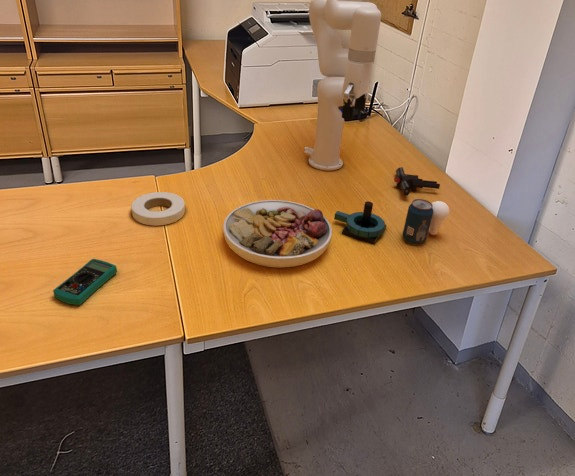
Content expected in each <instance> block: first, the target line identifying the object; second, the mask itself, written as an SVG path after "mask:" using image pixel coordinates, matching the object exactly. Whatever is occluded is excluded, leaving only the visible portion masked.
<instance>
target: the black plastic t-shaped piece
mask: <svg viewBox="0 0 575 476" xmlns="http://www.w3.org/2000/svg"><path fill="white" fill-rule="evenodd" d="M395 174H396V177H394V179H393V181H394V183H396V189H401V190H402V193H403V195H404V196H405V197H408V196H409V195H410V194H411V193H412V191H417V189H418V188H420V189H423V188H424V189H425V188H426V189H436V190H440V187H441V184H440V183H438V181H435V180H425V179H422V178H419V175H416V174H407V173H405V170H404V167H402V166H400V167H398V168H397V169H395Z"/></svg>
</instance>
